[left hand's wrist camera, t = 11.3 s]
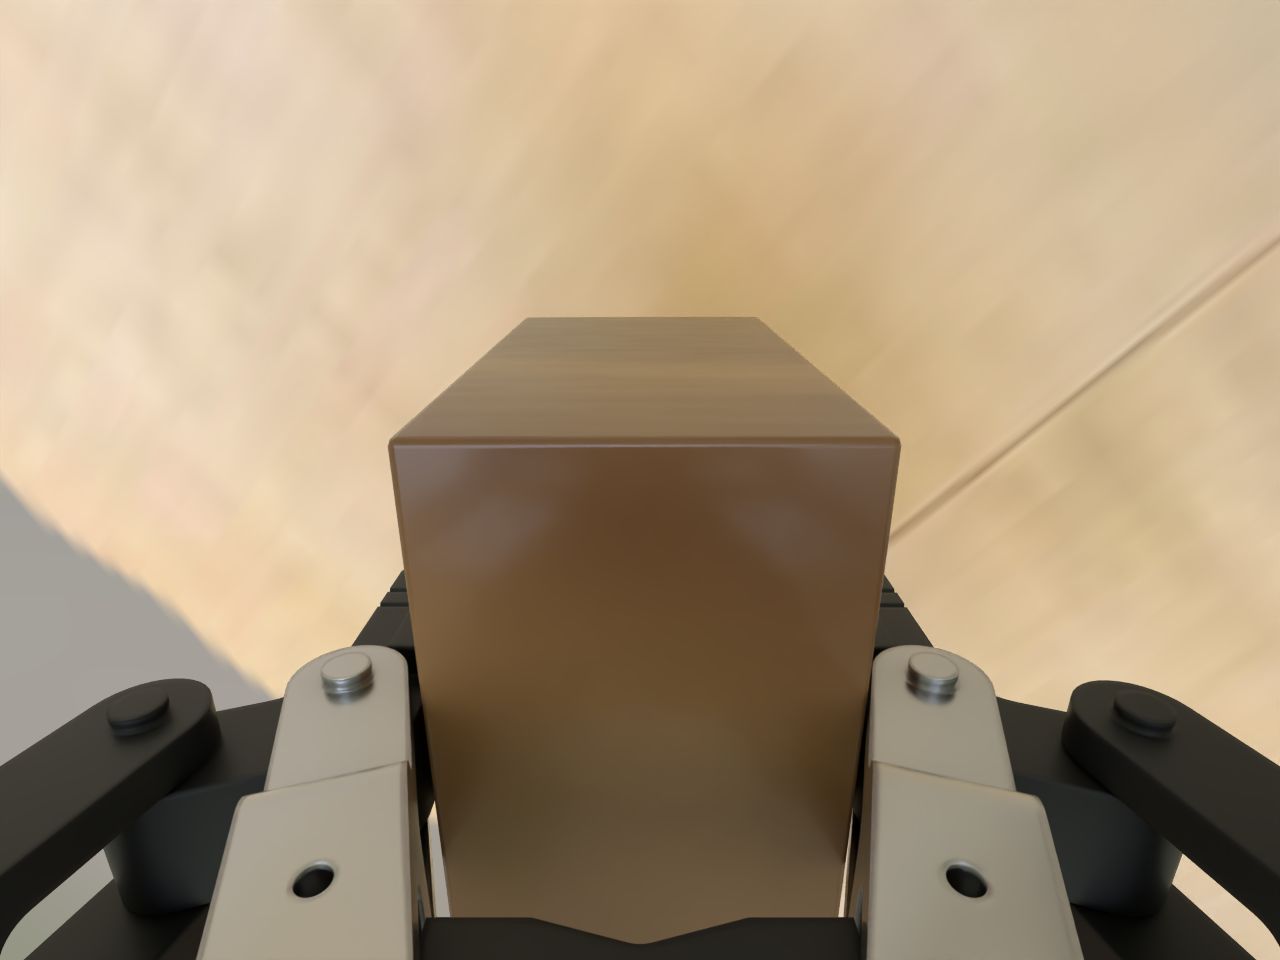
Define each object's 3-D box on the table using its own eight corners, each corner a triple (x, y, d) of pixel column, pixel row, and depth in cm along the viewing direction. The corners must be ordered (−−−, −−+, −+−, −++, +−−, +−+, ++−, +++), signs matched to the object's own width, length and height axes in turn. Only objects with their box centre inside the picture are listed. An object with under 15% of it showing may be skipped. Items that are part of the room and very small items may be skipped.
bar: (524, 316, 14) (383, 438, 6) (759, 316, 14) (906, 438, 6) (567, 1057, 22) (528, 1515, 14) (717, 1057, 22) (760, 1515, 14)
